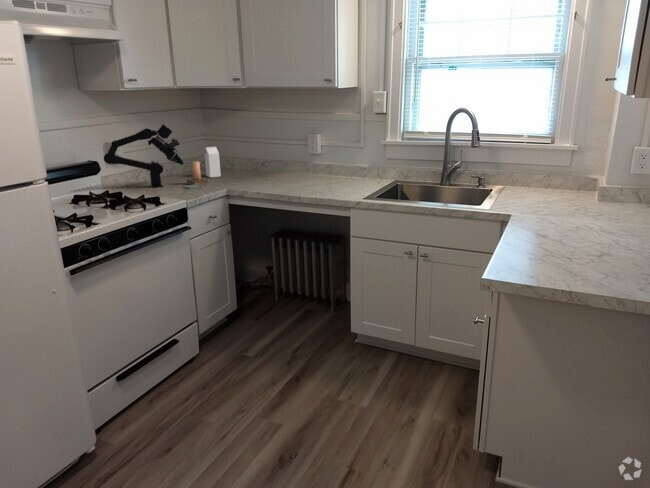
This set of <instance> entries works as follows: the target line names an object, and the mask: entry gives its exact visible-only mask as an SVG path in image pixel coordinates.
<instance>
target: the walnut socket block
mask: <svg viewBox="0 0 650 488" xmlns="http://www.w3.org/2000/svg"><path fill="white" fill-rule="evenodd" d="M208 179H209V178H208ZM208 179H207V178H204V177H203V178H202V177H201V180H198V181H194V180H193V178H189V179H186V185H198V186H202V185H207V184H209V180H208Z"/></svg>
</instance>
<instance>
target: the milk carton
mask: <svg viewBox="0 0 650 488" xmlns="http://www.w3.org/2000/svg"><path fill="white" fill-rule="evenodd" d="M204 150H205V151H204V154H203V155H204V162H205V163H204V164H205V165H204V166H205V174H206V175H205V176H206V177H208V178H217V177H218V178H219V177H222V176H221V164H220V162H221V161H220V153H219V150H218V148H217V146H207V147H206V146H205V149H204Z"/></svg>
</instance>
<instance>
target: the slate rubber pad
mask: <svg viewBox="0 0 650 488" xmlns="http://www.w3.org/2000/svg"><path fill="white" fill-rule="evenodd" d="M201 186H202V185H190V184H187V185H184V186H183V188H184V189H187V188H188V190H192V189H193V190H194V189H200V188H201Z"/></svg>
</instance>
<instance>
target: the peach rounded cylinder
mask: <svg viewBox="0 0 650 488" xmlns="http://www.w3.org/2000/svg"><path fill="white" fill-rule="evenodd" d="M200 163H201V162H200V161H192V162H191V168H192V179H193V180H194V181H198V180H201V178H202V175H201V166H200Z"/></svg>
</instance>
